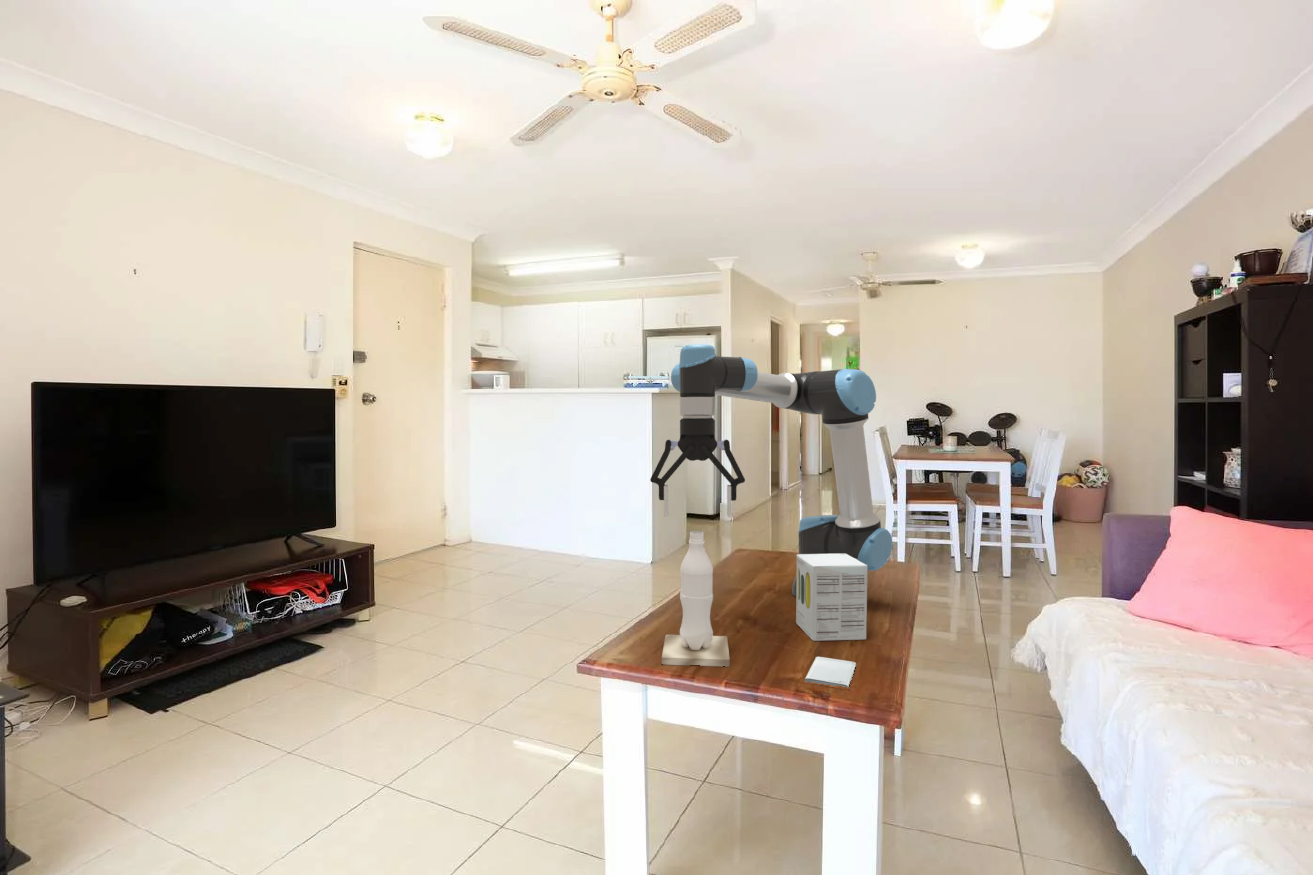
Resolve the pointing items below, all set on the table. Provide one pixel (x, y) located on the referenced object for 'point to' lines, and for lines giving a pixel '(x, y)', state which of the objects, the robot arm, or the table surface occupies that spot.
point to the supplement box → (831, 596)
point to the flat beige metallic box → (696, 652)
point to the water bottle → (696, 594)
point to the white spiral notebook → (831, 672)
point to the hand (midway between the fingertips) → (697, 515)
